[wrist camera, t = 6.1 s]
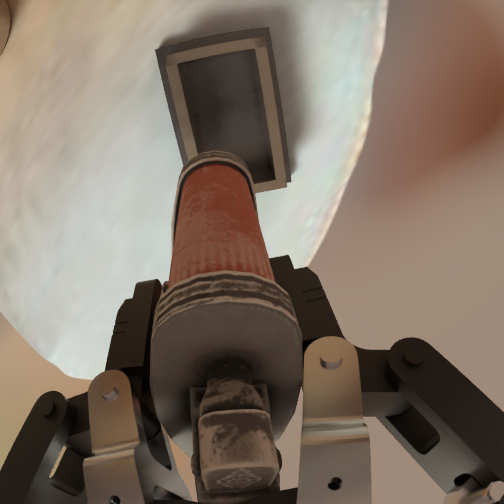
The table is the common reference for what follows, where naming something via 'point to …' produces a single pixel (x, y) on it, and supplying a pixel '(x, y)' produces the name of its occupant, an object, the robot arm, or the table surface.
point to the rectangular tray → (228, 102)
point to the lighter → (224, 337)
